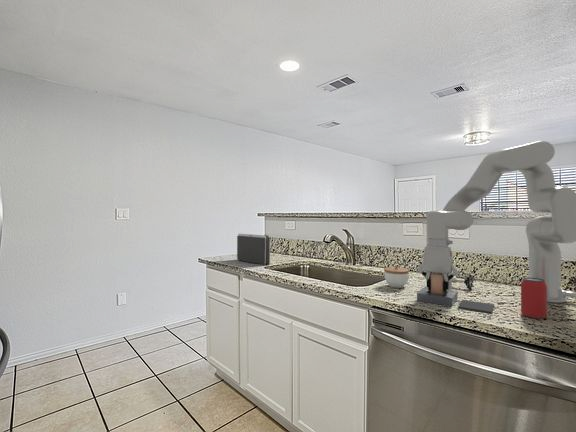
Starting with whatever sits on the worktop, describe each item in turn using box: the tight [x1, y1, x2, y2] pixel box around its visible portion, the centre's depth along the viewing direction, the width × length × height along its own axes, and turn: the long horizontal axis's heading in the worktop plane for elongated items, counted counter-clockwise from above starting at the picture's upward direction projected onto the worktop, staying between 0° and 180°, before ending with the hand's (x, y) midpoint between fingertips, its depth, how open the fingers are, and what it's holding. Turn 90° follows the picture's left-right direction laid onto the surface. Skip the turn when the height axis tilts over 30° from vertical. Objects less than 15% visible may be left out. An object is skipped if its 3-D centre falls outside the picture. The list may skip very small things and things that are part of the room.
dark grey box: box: [236, 232, 271, 265], centre depth 217 cm, size 35×22×20 cm, turn 46°
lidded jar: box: [383, 265, 410, 289], centre depth 141 cm, size 11×11×9 cm
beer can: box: [520, 276, 548, 320], centre depth 100 cm, size 7×7×12 cm
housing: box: [416, 286, 458, 307], centre depth 119 cm, size 12×12×3 cm
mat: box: [457, 299, 495, 314], centre depth 110 cm, size 10×10×1 cm
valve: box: [452, 274, 475, 291], centre depth 138 cm, size 7×7×12 cm
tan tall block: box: [431, 272, 445, 295], centre depth 119 cm, size 5×5×11 cm
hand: (437, 289), depth 119 cm, fingers closed on tan tall block, 4 cm apart
